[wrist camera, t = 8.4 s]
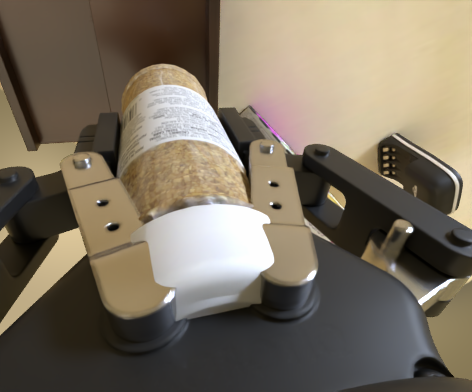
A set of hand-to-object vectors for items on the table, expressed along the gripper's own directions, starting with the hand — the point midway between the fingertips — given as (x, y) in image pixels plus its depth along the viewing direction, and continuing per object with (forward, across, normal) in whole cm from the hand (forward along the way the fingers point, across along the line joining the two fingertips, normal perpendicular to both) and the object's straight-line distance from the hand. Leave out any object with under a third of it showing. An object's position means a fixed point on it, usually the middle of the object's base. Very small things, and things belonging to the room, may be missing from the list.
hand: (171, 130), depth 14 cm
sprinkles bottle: (+3, 0, 0) cm, 3 cm away
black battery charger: (+18, -31, +14) cm, 39 cm away
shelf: (+18, +4, 0) cm, 18 cm away
